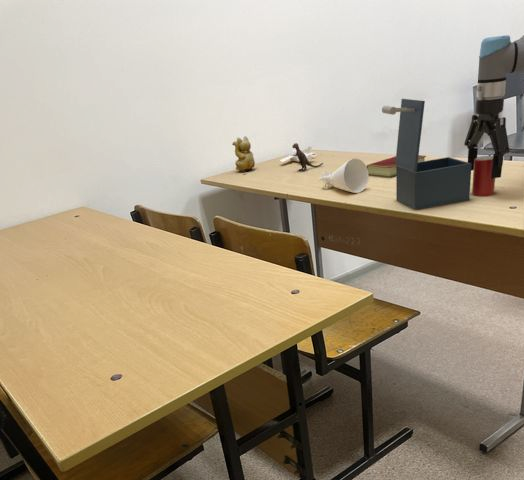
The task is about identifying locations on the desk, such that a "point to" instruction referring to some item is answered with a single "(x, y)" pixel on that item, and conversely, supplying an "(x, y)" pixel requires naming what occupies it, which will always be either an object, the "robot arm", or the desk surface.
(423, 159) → the hardcover book
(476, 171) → the can
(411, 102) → the lid
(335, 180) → the rocket engine
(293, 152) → the airplane model
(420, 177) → the chest
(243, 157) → the decorative figurine
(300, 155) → the dinosaur model
